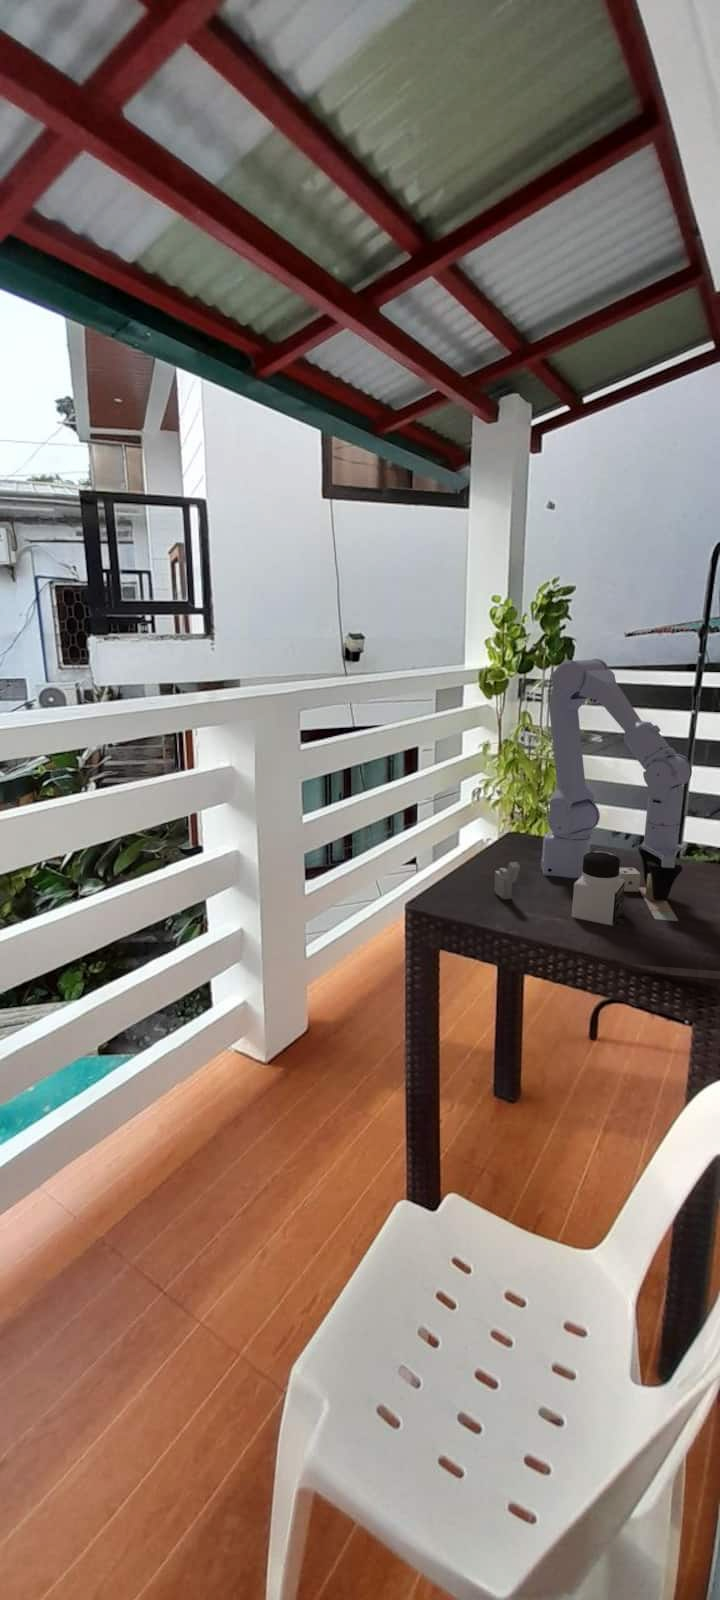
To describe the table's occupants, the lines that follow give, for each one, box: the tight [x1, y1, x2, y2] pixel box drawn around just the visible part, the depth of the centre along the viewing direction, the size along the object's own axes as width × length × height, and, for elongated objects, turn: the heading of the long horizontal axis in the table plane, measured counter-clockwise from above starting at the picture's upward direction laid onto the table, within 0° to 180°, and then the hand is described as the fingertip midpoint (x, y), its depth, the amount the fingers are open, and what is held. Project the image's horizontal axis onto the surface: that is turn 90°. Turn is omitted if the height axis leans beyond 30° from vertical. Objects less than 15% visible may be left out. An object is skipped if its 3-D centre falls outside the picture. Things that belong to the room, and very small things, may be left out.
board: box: [639, 886, 679, 922], centre depth 129 cm, size 8×19×1 cm, turn 169°
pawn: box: [645, 873, 664, 902], centre depth 130 cm, size 3×3×7 cm
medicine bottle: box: [571, 850, 625, 926], centre depth 122 cm, size 7×7×12 cm
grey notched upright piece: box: [493, 861, 521, 900], centre depth 133 cm, size 7×2×8 cm, turn 14°
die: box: [619, 867, 641, 893], centre depth 136 cm, size 4×4×4 cm
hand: (655, 892), depth 130 cm, fingers open, 7 cm apart
